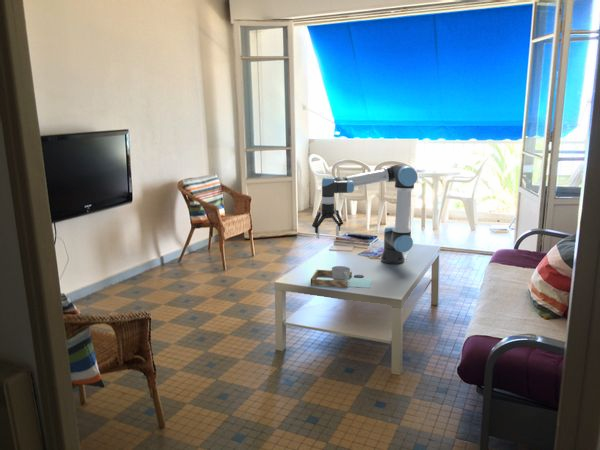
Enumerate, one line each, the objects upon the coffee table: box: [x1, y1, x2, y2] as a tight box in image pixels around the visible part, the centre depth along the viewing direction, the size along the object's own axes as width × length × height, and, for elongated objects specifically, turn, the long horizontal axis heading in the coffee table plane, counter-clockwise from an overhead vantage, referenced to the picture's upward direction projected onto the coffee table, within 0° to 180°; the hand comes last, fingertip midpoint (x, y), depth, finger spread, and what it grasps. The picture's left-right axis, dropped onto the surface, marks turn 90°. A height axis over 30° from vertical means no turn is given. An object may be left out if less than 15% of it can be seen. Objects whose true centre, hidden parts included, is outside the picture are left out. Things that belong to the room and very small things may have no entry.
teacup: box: [331, 265, 351, 281], centre depth 309 cm, size 14×11×8 cm
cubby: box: [310, 269, 353, 288], centre depth 311 cm, size 22×19×4 cm
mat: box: [347, 277, 373, 289], centre depth 308 cm, size 13×16×1 cm
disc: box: [353, 274, 365, 278], centre depth 319 cm, size 6×6×1 cm
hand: (327, 237), depth 325 cm, fingers open, 13 cm apart
